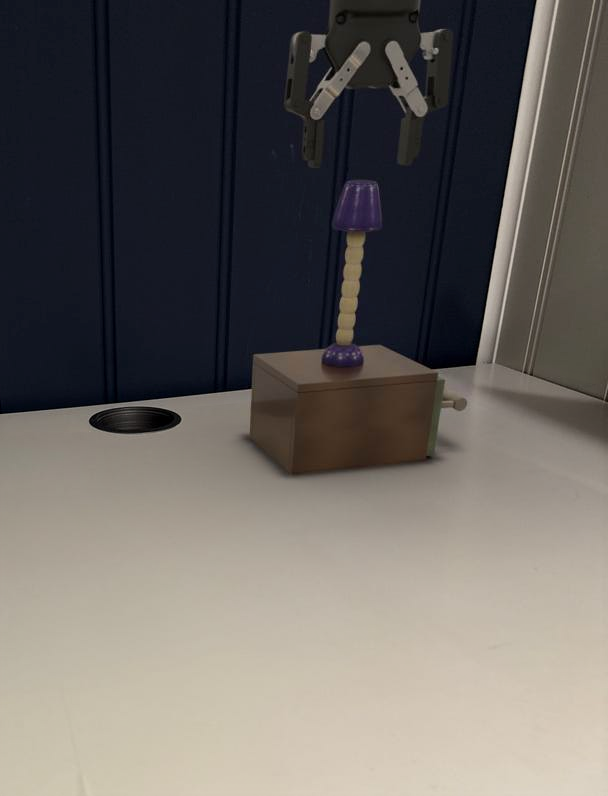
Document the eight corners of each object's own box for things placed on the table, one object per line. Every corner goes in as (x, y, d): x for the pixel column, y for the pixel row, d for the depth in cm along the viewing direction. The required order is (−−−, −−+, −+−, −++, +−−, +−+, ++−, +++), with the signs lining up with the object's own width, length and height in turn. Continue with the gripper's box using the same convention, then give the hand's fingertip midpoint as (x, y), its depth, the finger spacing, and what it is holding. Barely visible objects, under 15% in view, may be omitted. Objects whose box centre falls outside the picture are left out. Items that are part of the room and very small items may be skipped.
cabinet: (370, 430, 106) (380, 344, 101) (425, 466, 95) (438, 372, 90) (248, 442, 103) (253, 354, 98) (291, 480, 93) (298, 384, 88)
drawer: (418, 420, 106) (427, 350, 102) (471, 451, 96) (484, 375, 92) (270, 434, 103) (275, 362, 99) (311, 468, 93) (317, 390, 89)
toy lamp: (376, 363, 94) (397, 180, 85) (343, 371, 92) (361, 183, 83) (342, 355, 97) (358, 177, 89) (309, 361, 95) (323, 180, 87)
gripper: (308, -59, 73) (294, 171, 82) (482, -61, 74) (450, 166, 83) (284, -46, 80) (273, 165, 88) (444, -48, 81) (419, 161, 89)
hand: (359, 165), depth 85 cm, fingers open, 8 cm apart
